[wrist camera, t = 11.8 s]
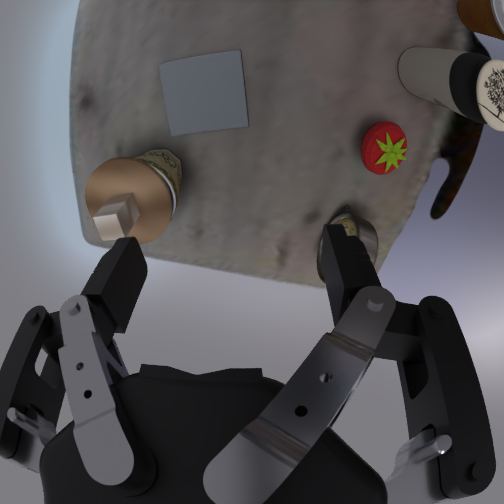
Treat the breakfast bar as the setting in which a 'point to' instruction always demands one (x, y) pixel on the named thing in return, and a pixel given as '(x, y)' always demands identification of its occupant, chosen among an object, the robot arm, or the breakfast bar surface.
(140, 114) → the breakfast bar surface
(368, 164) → the strawberry
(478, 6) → the disposable coffee cup
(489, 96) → the travel mug
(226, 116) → the mat
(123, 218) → the lid
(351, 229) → the alarm clock
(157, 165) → the ceramic cup
